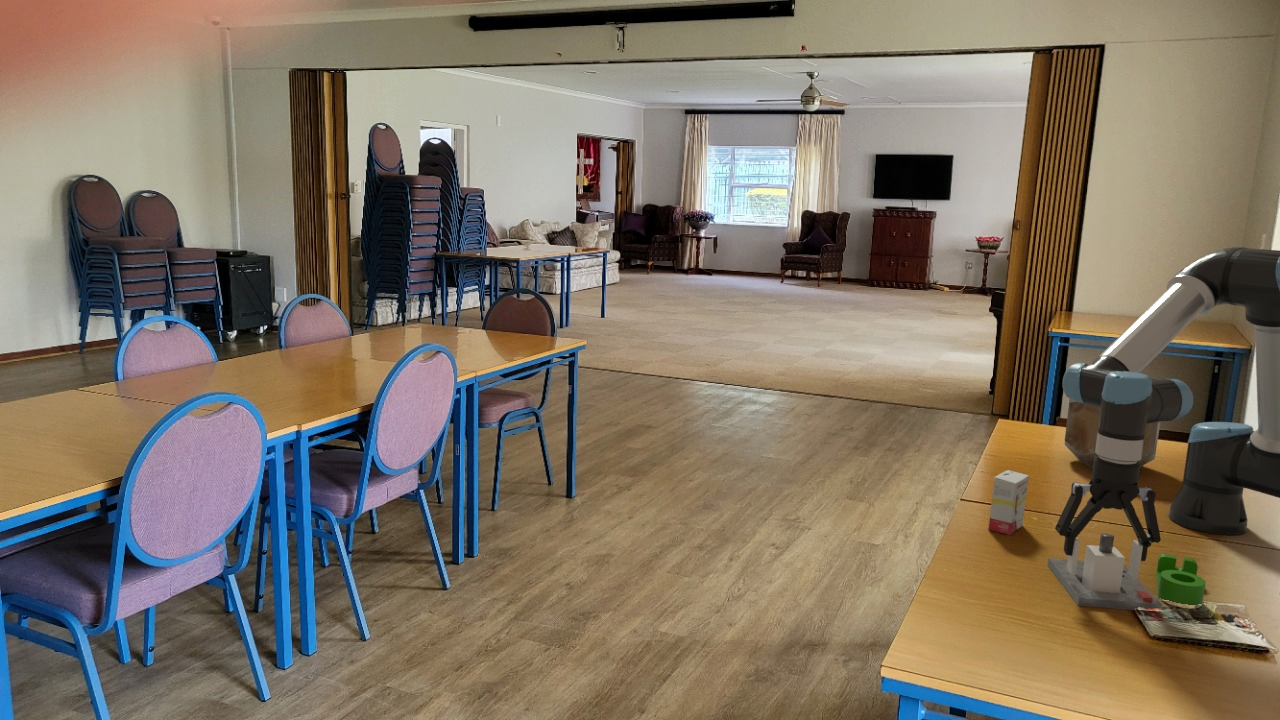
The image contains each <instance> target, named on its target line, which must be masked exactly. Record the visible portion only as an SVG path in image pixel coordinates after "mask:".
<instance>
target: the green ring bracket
mask: <svg viewBox="0 0 1280 720" xmlns="http://www.w3.org/2000/svg"><path fill="white" fill-rule="evenodd" d="M1198 568H1199V567H1198V563H1197V561H1196V560H1195V558H1190V557H1183V563H1182V566H1181V567H1177V556H1176V555H1172V554H1168V553H1167V554H1166V553H1161V554H1159V556H1158V558H1157V564H1156V569H1155V571H1156V572H1155V577H1156V583H1157V599H1159V598H1161V599H1164V600H1169V601H1172V602H1176V603H1181V604H1188V605H1198V604H1202V605H1203V601H1204V597H1205V596H1204V595H1205V589H1206V580H1205V579H1204V578H1202V577H1201V576H1199V575H1198Z"/></svg>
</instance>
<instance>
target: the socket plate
mask: <svg viewBox="0 0 1280 720" xmlns="http://www.w3.org/2000/svg"><path fill="white" fill-rule="evenodd" d="M1067 561H1068V559H1064V558H1049V557H1048V561H1047V566H1048V568H1049V569H1050V570H1051V572H1052V573H1053V574H1054V576H1055V577H1056V578H1057V580H1058V581H1059V583H1060V584H1061V586H1062V587H1063V588H1064V589H1065V591H1067V593H1068V594H1069V596H1070V597H1071V598H1072V599H1073V601H1074V602H1075V603H1076V605H1077V606H1079V607H1091V608H1101V609H1102V608H1104V609H1115V610H1124V611H1126V610H1129V611H1135V610H1134V609H1135V608H1138V607H1146V608H1163V607H1162V606H1163V604H1162V603H1161V601H1159V600H1158V598H1156V596H1155V595H1153V593H1152V592H1151V591H1150V590H1149V589H1148V588H1147V587H1146V586H1145V585H1144V584H1143V583H1142V581H1140V580H1139V579H1138V580H1136V579H1133V578H1132V577H1131V576H1130V575H1129V574H1128V570H1129V567H1127V565H1125V564H1124V567H1123V574H1122V581H1121V588H1120V593H1110V592H1098V591H1087V590H1086V589H1085V587H1084V586H1083V585H1082V584H1081V583H1082V576H1083V568H1084V561H1085V560H1078V559H1077V567H1076V575H1072V574H1070V572H1069V571H1068V570H1067V569H1066V568H1067Z"/></svg>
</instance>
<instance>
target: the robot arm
mask: <svg viewBox="0 0 1280 720" xmlns="http://www.w3.org/2000/svg"><path fill="white" fill-rule="evenodd" d="M1220 305H1221V306H1222V305H1231V306H1237V307H1242V308H1244V310H1245V311H1244V312H1245V321H1246V323H1248V324H1249V325H1250V326H1252V327H1253V328H1254V339H1255V340H1254V341H1255V342H1254V343H1255V344H1254V345H1255V368H1256V369H1255V372H1256V373H1255V374H1256V377H1255V378H1256V401H1257V402H1256V403H1257V429H1256V430H1255V431H1254V428H1253V426H1252V425H1249V424H1246V423H1240V422H1228V421H1227V422H1226V421H1206V422H1205V421H1203V422H1199V423H1196V424H1194V425H1193V426H1192V428H1191V429H1190V434H1189V437H1188V440H1187V449H1186V457H1185V464H1184V473H1183V479H1182V485H1181V487H1180V488H1179V490H1178V492H1177V493H1176V495H1175V497H1174V499H1173V501H1172V503H1171V504H1170V507H1169V509H1168V510H1169V512H1168V518H1169V519H1170V520H1172V521H1173V522H1174V523H1176V524H1177V525H1180V526H1183V527H1185V528H1189V529H1192V530H1195V531H1199V532H1204V533H1209V534H1216V535H1226V536H1228V535H1229V536H1231V535H1233V536H1234V535H1235V536H1236V535H1241V534H1244V533H1246V531H1247V528H1248V527H1247V526H1248V523H1249V521H1248V515H1247V512H1246V511H1247V510H1246V506H1245V501H1244V497H1243V495H1244V489H1247V490H1251V491H1254V492H1258V493H1261V494H1264V495H1268V496H1272V497H1275V498H1279V499H1280V250H1276V249H1261V248H1253V247H1252V248H1251V247H1249V248H1248V247H1243V246H1242V247H1241V246H1237V247H1235V246H1233V247H1226V248H1222V249H1218V250H1216V251H1215V250H1214V251H1213V252H1210V253H1208V254H1205V255H1204V256H1201V257H1199V258H1197V259H1196V260H1194V261H1192V262H1190V263H1188V265H1186V266H1184V267H1183V268H1182V269H1180V270H1179V271H1178V272H1177V273H1176V274H1175V275H1174V276H1172V278H1170V280H1169V281H1168V282H1167V285H1166V291H1165V292H1163V293H1162V295H1160V296H1159V298H1158V299H1156V300H1155V301H1154V303H1152V304H1151V305H1149V307H1148V308H1147V309H1146V310H1145V311H1144V312H1142V314H1141V315H1139V316H1138V318H1137V319H1136V320H1134V322H1133V323H1132V324H1131V325H1130V326H1128V328H1127V329H1125V330H1124V332H1121V334H1120V335H1119V336H1118V337H1117V338H1116V339H1114V340H1113V342H1112V343H1111V344H1110V345H1108V347H1107V348H1106V349H1105V350H1104V351H1103V352H1102V353H1101V354H1100V355H1099V356H1098V357H1097V358H1095V359H1094V360H1093V361H1092V362H1091V363H1090V364H1089V363H1087V362H1086V363H1085V362H1084V363H1081V362H1080V363H1079V362H1078V363H1077V362H1076V363H1075V364H1071V365H1070V366H1069V367H1068V368H1067V369H1066V371H1065V372H1064V375H1063V377H1062V385H1061V386H1062V389H1063V393H1064V395H1065V396H1066V397H1067V398H1068V399H1069V400H1070V399H1072V400H1075V401H1078V402H1081V403H1083V404H1086V405H1087V404H1088V405H1093V406H1097V407H1101V412H1100V421H1099V427H1098V434H1097V441H1096V449H1095V453H1096V454H1097V455H1096V456H1095V457H1094V463H1093V469H1092V471H1091V479H1090V481H1089V482H1088V484H1087V483H1086V484H1085V483H1078V482H1077V481H1074V482H1072V483H1071V488H1070V489H1071V492H1070V496H1069V497H1068V500H1067V502H1066V504H1065V507H1063V510H1062V512H1061V514H1060V516H1059V518H1058V521H1057V522H1056V525H1055V526H1054V527H1055V528H1054V529H1055V531H1056V532H1057V533H1058V534H1059V535H1060V536H1061V537H1064V545H1063V552H1064V554H1065V555H1066V556H1067V560H1068V561H1067V568H1066V569H1067V570H1068V571H1069V572H1070V574H1072V575H1076V567H1077V560H1078V559H1079V558H1078V557H1079V550H1080V543H1081V541H1080V540H1079V538H1078V536H1079V535H1080V534H1081V533H1082V531H1083V530H1084V529H1085V528H1086V526H1087V525H1088V524H1089V523H1090V521H1092V519H1093V518H1094V517H1095V515H1096V514H1097V513H1099V512H1101V510H1103V509H1104V510H1105V509H1108V510H1109V509H1115V510H1119V511H1122V510H1123V512H1124V514H1125V516H1126V518H1127V520H1128V522H1129V523H1130V526H1131V528H1132V530H1133V532H1134V534H1135V536H1136V538H1137V540H1136V539H1135V540H1134V539H1133V540H1132V543H1131V549H1130V557H1129V563H1128V569H1129V570H1128V574H1129V575H1130V576H1131V577H1132V578H1133V579H1136V580H1139V575H1140V568H1141V562H1145V561H1146V559H1147V555H1148V550H1149V549H1148V548H1150V547H1151V546H1152V544H1154V543H1156V544H1159V543H1160V542H1161V540H1162V539H1161V534H1160V528H1159V523H1158V517H1157V512H1156V506H1155V500H1156V495H1157V492H1156V491H1154V490H1153V489H1152V488H1150V487H1149V486H1145V487H1139V486H1138V485H1139V484H1138V483H1139V479H1140V473H1141V467H1142V466H1141V464H1140V463H1139V460H1141V459H1142V452H1143V445H1144V436H1145V430H1146V424H1148V423H1154V422H1160V423H1161V422H1172V421H1174V420H1177V419H1180V418H1183V417H1185V416H1186V415H1188V414H1189V413H1190V411H1191V410H1192V407H1193V405H1194V395H1193V394H1194V393H1193V392H1192V390H1191V388H1190V387H1189V385H1188V384H1186V383H1185V382H1184V381H1182V380H1180V379H1177V378H1167V377H1166V378H1162V379H1161V378H1160V379H1157V378H1152V377H1150V376H1149V375H1147V374H1146V373H1145V374H1144V373H1141V372H1142V371H1143V370H1144V369H1145V368H1146V367H1147V366H1148V365H1149V364H1150V363H1151V362H1152V361H1153V360H1154V359H1155V358H1156V357H1157V356H1158V355H1159V354H1160V353H1161V352H1162V351H1163V350H1164V349H1165V348H1166V347H1167V346H1168V345H1169V344H1170V343H1171V342H1172V341H1173V340H1174V339H1176V338H1177V336H1179V335H1180V333H1182V332H1183V331H1184V330H1185V328H1186V327H1187V326H1188V325H1189V324H1191V323H1192V322H1193V321H1194V319H1196V318H1197V317H1198V316H1199V315H1204V314H1208V312H1210V311H1211V310H1213V308H1214V307H1216V306H1220ZM1140 466H1141V467H1140ZM1088 492H1089V493H1090V495H1091V497H1090V498H1089V499H1088V500H1087V502H1086V504H1085V506H1084V507H1083V508H1082V510H1081V511H1080V512H1079V513H1078V515H1077V516H1076V517H1075V515H1076V514H1077V512H1078V509H1079V508H1080V505H1081V502H1082V501H1083V497H1086V495H1087V493H1088ZM1138 496H1139V499H1141V504H1142V509H1143V515H1144V520H1145V524H1146V529H1147V533H1146V531H1145V529H1144V527H1143V525H1142V523H1141V521H1140V519H1139V517H1138V514H1137V513H1136V510H1135V507H1134V505H1133V503H1132V502H1133V501H1134V499H1136V498H1137V497H1138Z"/></svg>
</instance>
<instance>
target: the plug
mask: <svg viewBox="0 0 1280 720" xmlns="http://www.w3.org/2000/svg"><path fill="white" fill-rule="evenodd" d="M1114 540H1115V536H1114V535H1113V534H1110V533H1100V538H1099V545H1090V544H1086V546H1085V555H1084V560H1083V561H1084V568H1083V576H1082V583H1081V584H1082V585H1083V586H1084V587H1085V589H1086V590H1087V591H1098V592H1110V593H1120V588H1121V581H1122V574H1123V567H1124V565H1125V559H1126V557H1125V556H1124V555H1123V554H1122V553H1121V552H1120V551H1119V550H1118V549H1117V548H1116V547H1115V546H1114Z"/></svg>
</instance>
